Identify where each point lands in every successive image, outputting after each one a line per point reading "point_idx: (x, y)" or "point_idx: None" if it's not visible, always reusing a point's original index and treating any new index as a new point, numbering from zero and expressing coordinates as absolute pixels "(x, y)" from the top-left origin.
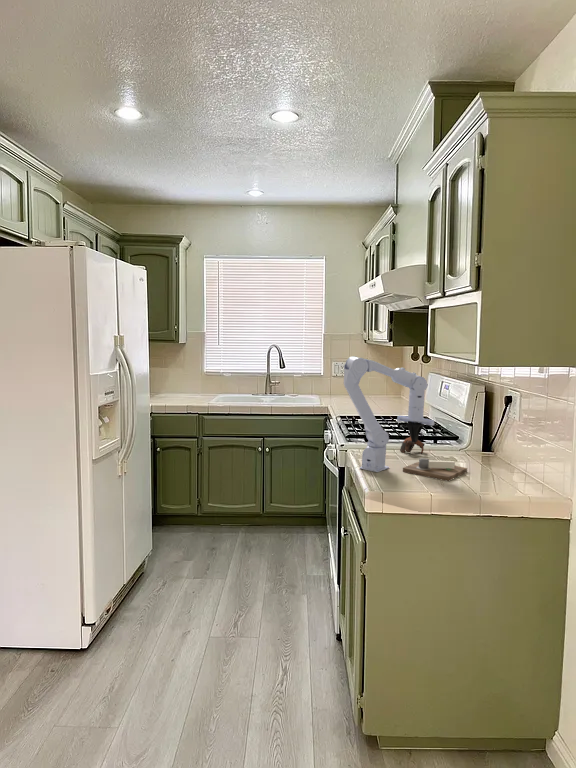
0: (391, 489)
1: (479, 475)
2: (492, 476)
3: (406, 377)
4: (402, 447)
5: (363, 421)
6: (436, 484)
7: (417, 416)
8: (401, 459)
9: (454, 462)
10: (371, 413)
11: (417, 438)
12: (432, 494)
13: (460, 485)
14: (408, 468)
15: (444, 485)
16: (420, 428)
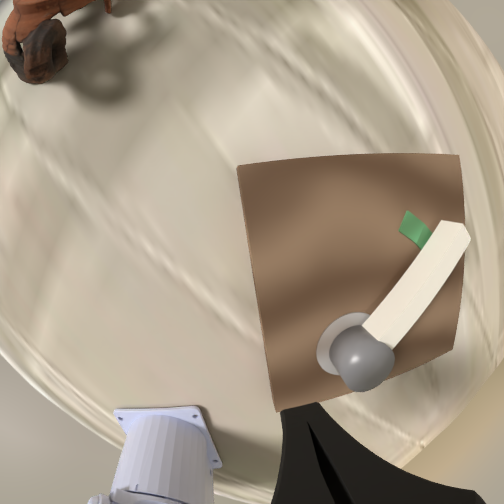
0: None
1: (480, 173)
2: (496, 153)
3: None
4: (19, 71)
5: None
6: (422, 397)
7: None
8: (97, 202)
9: (469, 240)
10: None
11: (332, 425)
12: (424, 443)
13: (470, 342)
14: (300, 401)
15: (440, 383)
16: (413, 501)
